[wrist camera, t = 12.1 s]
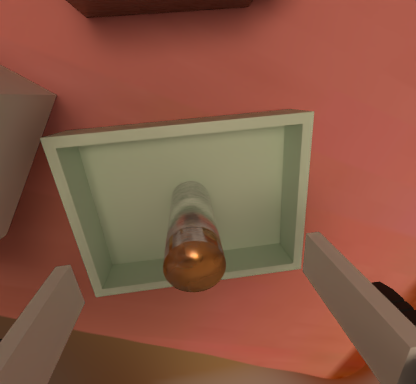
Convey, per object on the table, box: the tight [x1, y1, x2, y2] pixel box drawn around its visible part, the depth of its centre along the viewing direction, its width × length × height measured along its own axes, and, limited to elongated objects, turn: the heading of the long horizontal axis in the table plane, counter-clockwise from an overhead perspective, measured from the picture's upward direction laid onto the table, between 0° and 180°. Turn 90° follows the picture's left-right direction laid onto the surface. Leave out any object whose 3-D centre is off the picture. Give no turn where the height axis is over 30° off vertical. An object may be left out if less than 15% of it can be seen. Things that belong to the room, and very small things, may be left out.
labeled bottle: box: [163, 181, 226, 292], centre depth 18 cm, size 4×4×10 cm
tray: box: [40, 109, 314, 297], centre depth 21 cm, size 20×15×4 cm
